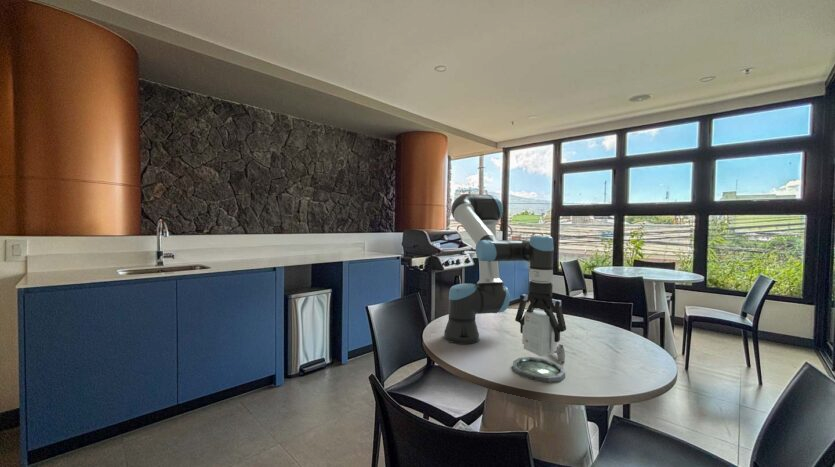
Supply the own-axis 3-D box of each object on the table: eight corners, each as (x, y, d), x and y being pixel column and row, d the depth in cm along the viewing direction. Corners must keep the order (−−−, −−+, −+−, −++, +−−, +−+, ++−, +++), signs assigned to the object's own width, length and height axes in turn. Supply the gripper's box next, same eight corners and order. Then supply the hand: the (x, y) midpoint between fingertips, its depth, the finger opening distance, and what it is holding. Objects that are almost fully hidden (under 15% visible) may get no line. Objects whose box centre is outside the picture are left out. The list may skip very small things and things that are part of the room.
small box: (555, 354, 111) (556, 315, 111) (541, 357, 108) (542, 317, 108) (536, 346, 118) (537, 309, 118) (523, 348, 116) (523, 311, 115)
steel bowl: (504, 370, 114) (504, 366, 114) (526, 357, 125) (527, 353, 125) (551, 387, 102) (552, 382, 102) (572, 371, 114) (572, 367, 114)
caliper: (564, 363, 122) (565, 346, 122) (561, 363, 122) (562, 346, 121) (536, 343, 142) (536, 328, 142) (533, 343, 142) (534, 328, 142)
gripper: (505, 278, 118) (504, 341, 119) (570, 287, 103) (568, 359, 103) (516, 276, 124) (514, 336, 124) (578, 284, 108) (577, 353, 108)
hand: (539, 346), depth 113 cm, fingers closed on small box, 9 cm apart
